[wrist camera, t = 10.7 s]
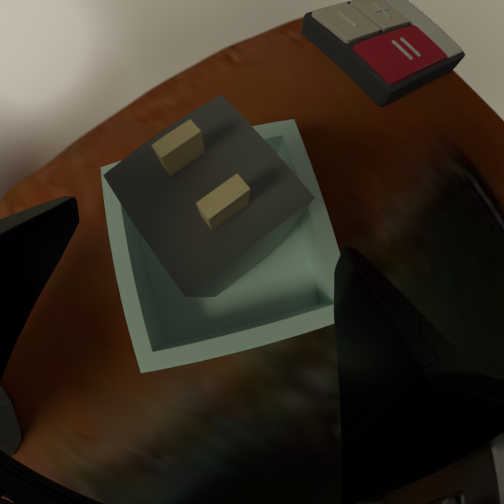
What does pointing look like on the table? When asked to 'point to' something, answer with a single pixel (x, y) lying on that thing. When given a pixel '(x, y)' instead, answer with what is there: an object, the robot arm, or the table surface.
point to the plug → (209, 197)
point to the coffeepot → (8, 425)
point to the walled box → (237, 294)
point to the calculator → (383, 45)
